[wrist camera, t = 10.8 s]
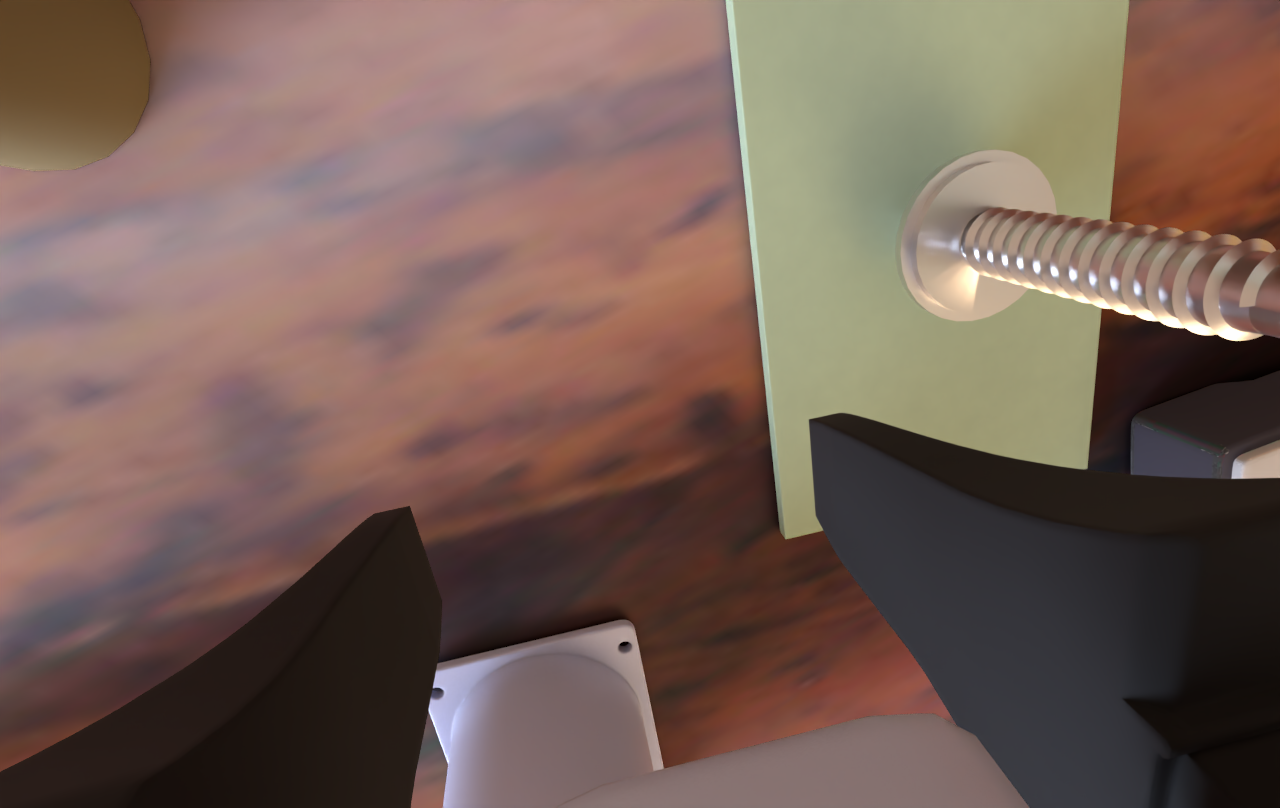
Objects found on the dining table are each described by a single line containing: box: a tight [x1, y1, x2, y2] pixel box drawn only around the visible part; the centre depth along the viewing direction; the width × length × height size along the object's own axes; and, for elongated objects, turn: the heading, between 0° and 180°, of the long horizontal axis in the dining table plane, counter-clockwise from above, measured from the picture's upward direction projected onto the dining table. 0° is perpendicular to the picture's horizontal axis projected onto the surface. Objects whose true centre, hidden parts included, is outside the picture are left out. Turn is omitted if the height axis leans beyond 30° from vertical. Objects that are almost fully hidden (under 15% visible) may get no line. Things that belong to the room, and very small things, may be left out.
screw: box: [895, 150, 1280, 341], centre depth 16 cm, size 13×5×5 cm
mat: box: [726, 0, 1129, 539], centre depth 22 cm, size 20×12×1 cm, turn 9°
